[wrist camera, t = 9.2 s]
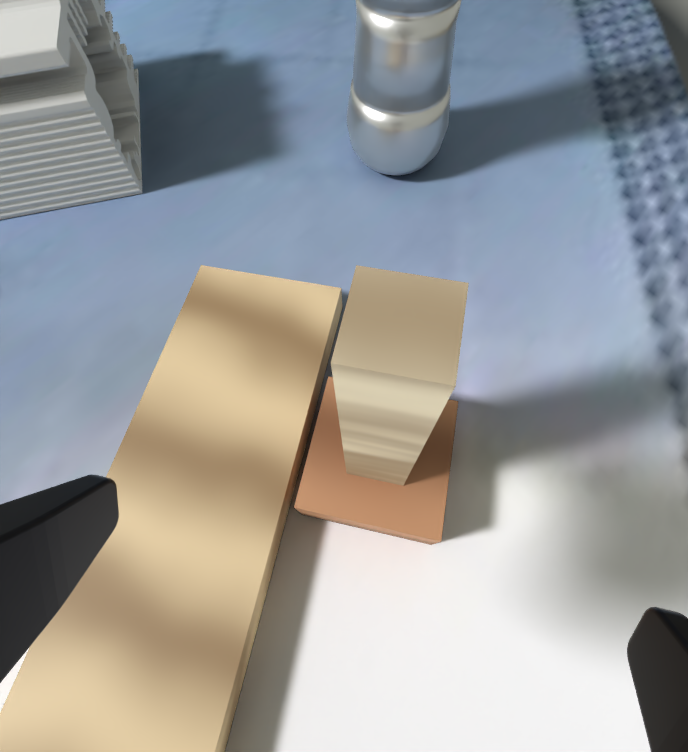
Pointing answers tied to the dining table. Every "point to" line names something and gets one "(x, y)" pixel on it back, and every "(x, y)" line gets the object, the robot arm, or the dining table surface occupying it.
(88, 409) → the dining table surface
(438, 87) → the plastic bottle
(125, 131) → the aluminum extrusion profile
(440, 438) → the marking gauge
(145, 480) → the board
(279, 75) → the dining table surface
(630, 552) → the dining table surface
